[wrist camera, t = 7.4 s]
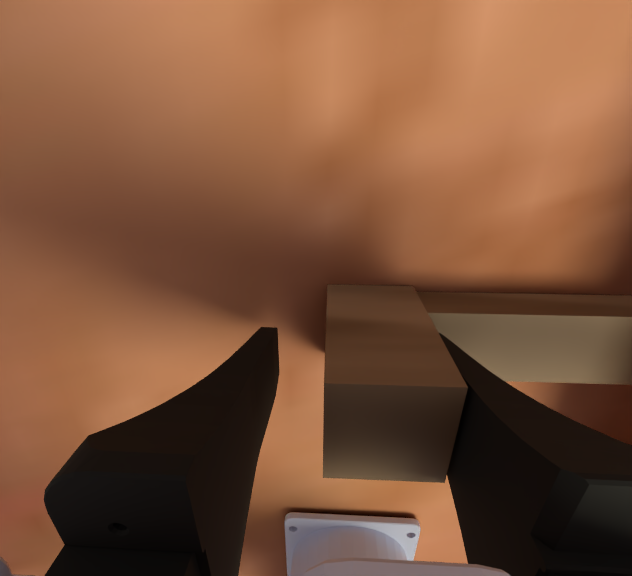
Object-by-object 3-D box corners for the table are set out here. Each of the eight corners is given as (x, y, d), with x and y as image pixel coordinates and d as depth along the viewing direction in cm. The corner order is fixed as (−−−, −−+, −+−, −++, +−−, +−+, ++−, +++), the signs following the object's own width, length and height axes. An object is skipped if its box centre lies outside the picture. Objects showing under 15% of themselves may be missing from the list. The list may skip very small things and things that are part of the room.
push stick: (722, 364, 14) (960, 504, 9) (326, 354, 15) (322, 477, 10) (768, 292, 13) (1086, 405, 7) (327, 284, 14) (324, 383, 8)
